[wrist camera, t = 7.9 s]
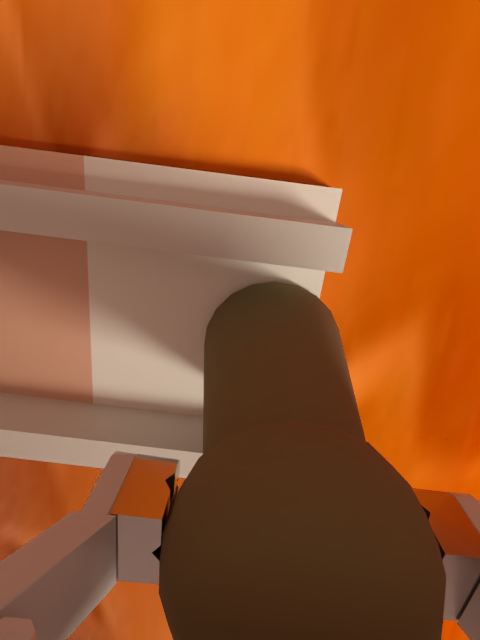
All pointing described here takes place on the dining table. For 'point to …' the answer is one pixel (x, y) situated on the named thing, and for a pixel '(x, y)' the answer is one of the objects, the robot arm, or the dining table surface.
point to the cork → (292, 495)
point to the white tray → (133, 294)
